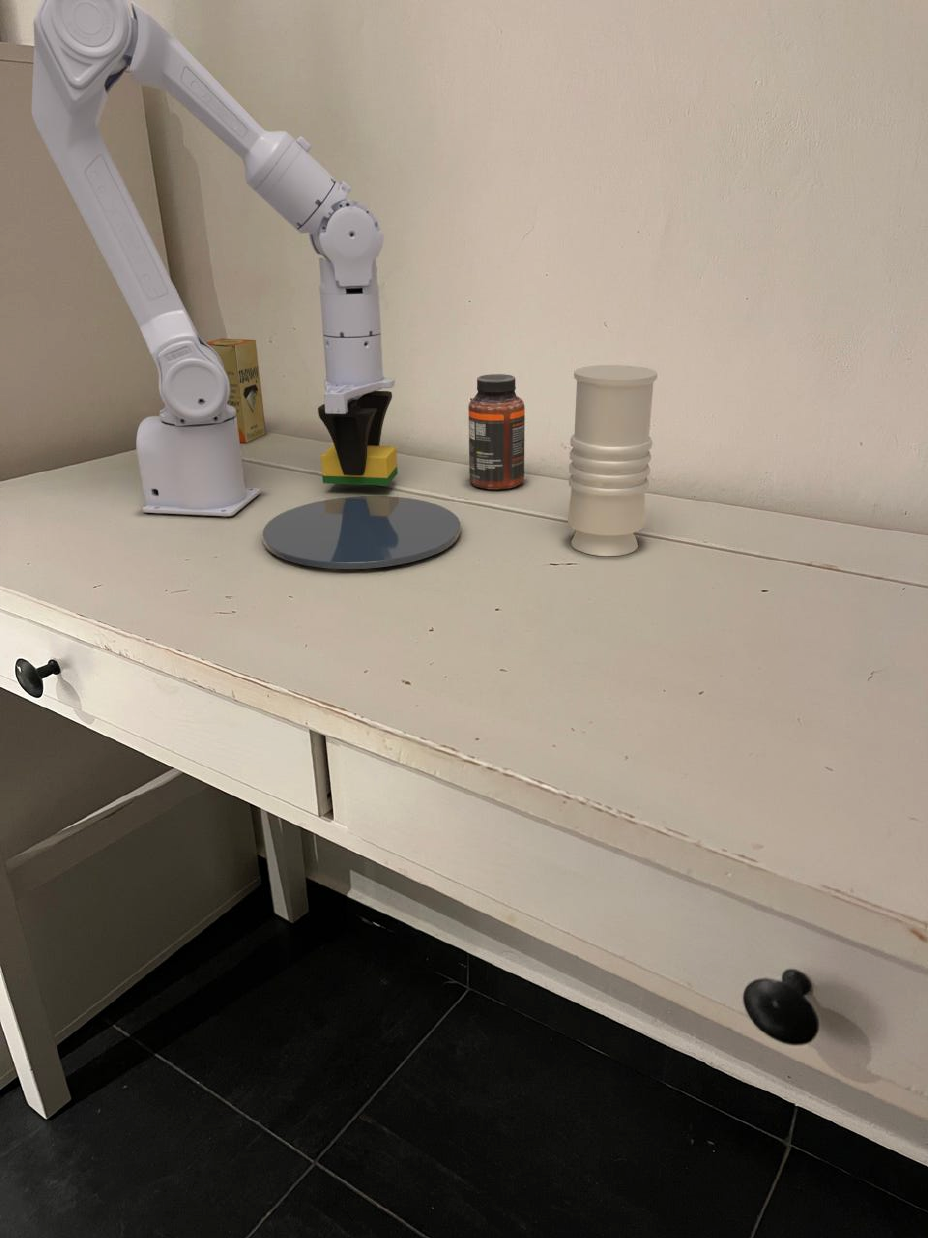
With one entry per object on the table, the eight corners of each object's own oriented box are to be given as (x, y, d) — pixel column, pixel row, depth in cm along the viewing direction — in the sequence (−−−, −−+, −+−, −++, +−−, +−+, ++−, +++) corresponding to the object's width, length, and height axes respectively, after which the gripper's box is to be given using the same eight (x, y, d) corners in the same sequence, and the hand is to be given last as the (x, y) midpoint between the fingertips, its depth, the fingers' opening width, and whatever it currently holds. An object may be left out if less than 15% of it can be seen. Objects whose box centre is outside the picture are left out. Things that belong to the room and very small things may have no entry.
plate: (231, 567, 75) (230, 556, 74) (301, 501, 91) (300, 492, 90) (440, 579, 72) (440, 567, 71) (474, 509, 88) (474, 499, 87)
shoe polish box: (212, 440, 114) (199, 343, 109) (233, 431, 118) (221, 338, 113) (246, 443, 113) (234, 345, 107) (265, 433, 117) (255, 339, 112)
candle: (658, 542, 79) (674, 371, 72) (614, 564, 74) (627, 383, 68) (595, 525, 83) (605, 362, 77) (550, 545, 79) (556, 373, 72)
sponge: (322, 483, 92) (320, 455, 91) (335, 471, 96) (333, 444, 95) (387, 485, 91) (386, 457, 90) (397, 473, 95) (396, 446, 94)
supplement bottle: (525, 476, 98) (527, 371, 93) (522, 492, 93) (525, 382, 88) (471, 475, 99) (470, 371, 94) (466, 491, 93) (465, 381, 88)
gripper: (372, 345, 80) (380, 489, 86) (407, 324, 93) (412, 451, 99) (298, 344, 81) (310, 486, 87) (343, 323, 94) (351, 449, 100)
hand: (360, 467), depth 93 cm, fingers closed on sponge, 4 cm apart
